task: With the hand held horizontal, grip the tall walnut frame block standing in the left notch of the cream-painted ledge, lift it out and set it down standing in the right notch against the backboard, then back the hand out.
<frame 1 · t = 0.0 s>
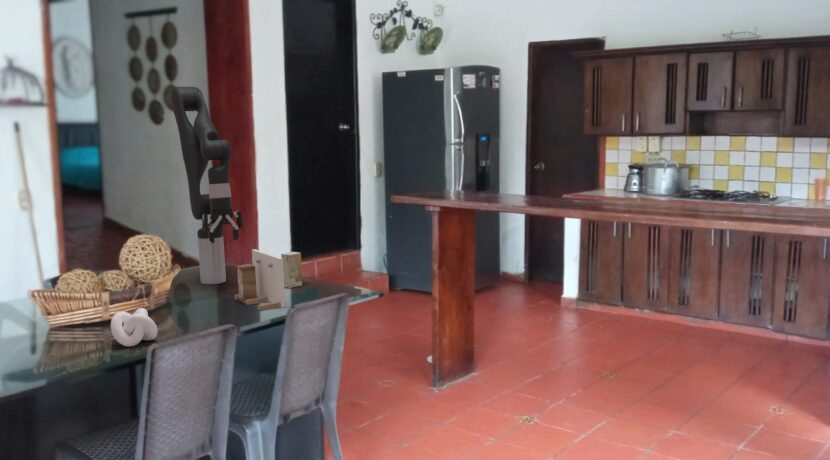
hand: (224, 241, 276), 17 cm above the table, tool pointing down, fingers open, 8 cm apart
white knot sculpture: (135, 342, 216), on the table
skincare box: (292, 286, 280), on the table
ledge: (255, 303, 256), on the table
frame block: (248, 300, 259), on the table
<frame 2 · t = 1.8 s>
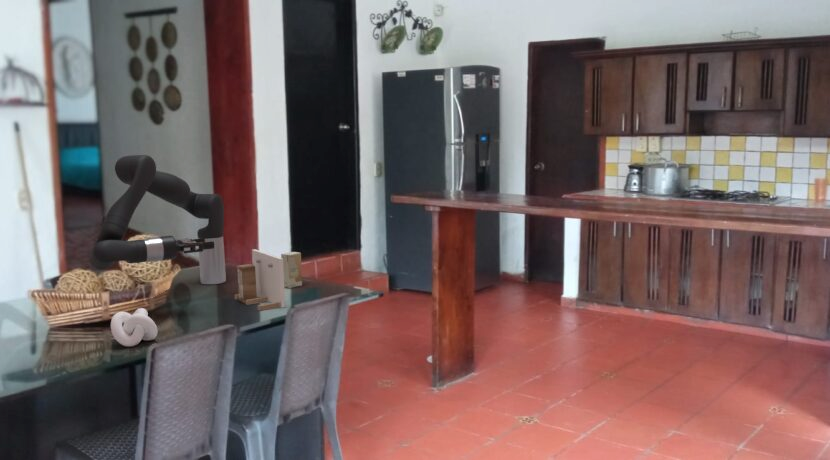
hand: (209, 243, 249), 21 cm above the table, tool horizontal, fingers open, 8 cm apart
nothing on the table moved.
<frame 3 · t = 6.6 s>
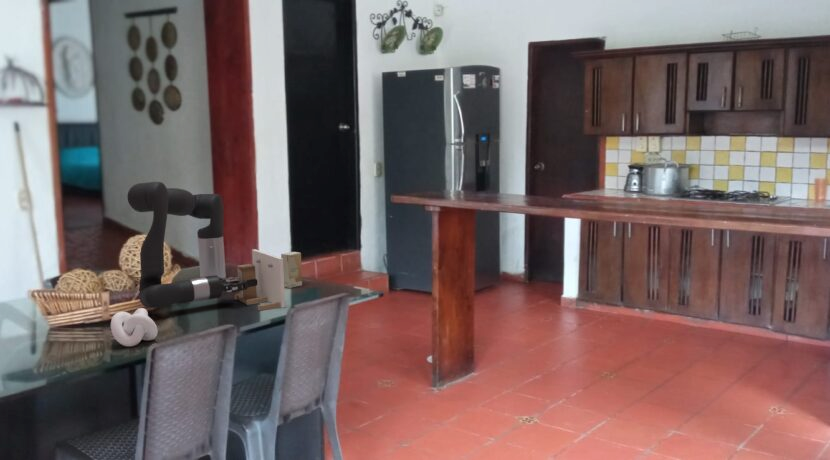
hand: (253, 280, 260), 7 cm above the table, tool horizontal, fingers closed on frame block, 4 cm apart
frame block: (248, 300, 259), on the table, touching gripper
everything else where it was.
when the fingers open (7 cm above the table, at t = 11.7 s): frame block stays where it is, on the table.
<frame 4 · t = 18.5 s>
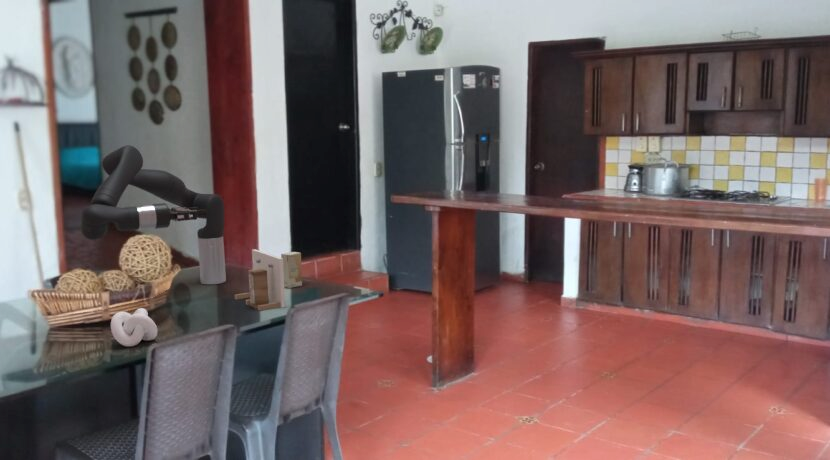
hand: (203, 211, 243), 32 cm above the table, tool horizontal, fingers open, 8 cm apart
frame block: (259, 306, 252), on the table
everything else where it was.
at the end: frame block inside the target area (0.1 cm from its centre), on the table; frame block tilted 0°; the gripper is holding nothing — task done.
